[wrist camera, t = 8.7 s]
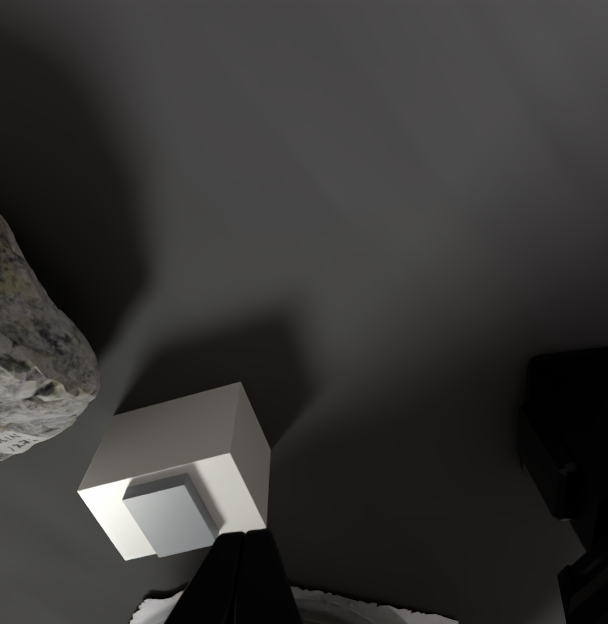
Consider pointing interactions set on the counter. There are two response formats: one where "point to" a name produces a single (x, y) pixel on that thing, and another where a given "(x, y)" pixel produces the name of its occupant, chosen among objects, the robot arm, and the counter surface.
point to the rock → (37, 358)
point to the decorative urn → (311, 611)
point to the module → (180, 474)
